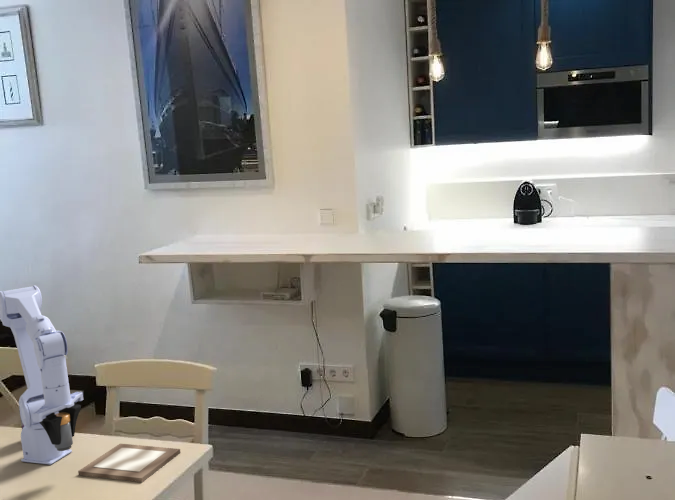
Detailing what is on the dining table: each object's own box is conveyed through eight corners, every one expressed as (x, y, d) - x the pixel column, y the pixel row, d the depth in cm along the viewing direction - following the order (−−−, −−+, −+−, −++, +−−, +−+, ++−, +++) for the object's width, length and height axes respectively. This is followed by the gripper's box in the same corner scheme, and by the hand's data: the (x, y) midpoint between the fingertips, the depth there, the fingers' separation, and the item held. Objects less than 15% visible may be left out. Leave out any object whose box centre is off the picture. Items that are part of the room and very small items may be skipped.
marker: (50, 451, 168) (46, 418, 167) (63, 443, 172) (59, 411, 171) (65, 452, 167) (60, 419, 166) (77, 445, 171) (73, 413, 170)
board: (78, 475, 171) (77, 470, 171) (120, 447, 186) (120, 442, 186) (142, 482, 165) (141, 477, 165) (180, 452, 180) (179, 448, 179)
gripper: (46, 396, 159) (54, 454, 161) (90, 375, 173) (97, 429, 175) (21, 394, 162) (30, 451, 164) (67, 374, 175) (74, 427, 177)
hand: (63, 440), depth 169 cm, fingers closed on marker, 4 cm apart
